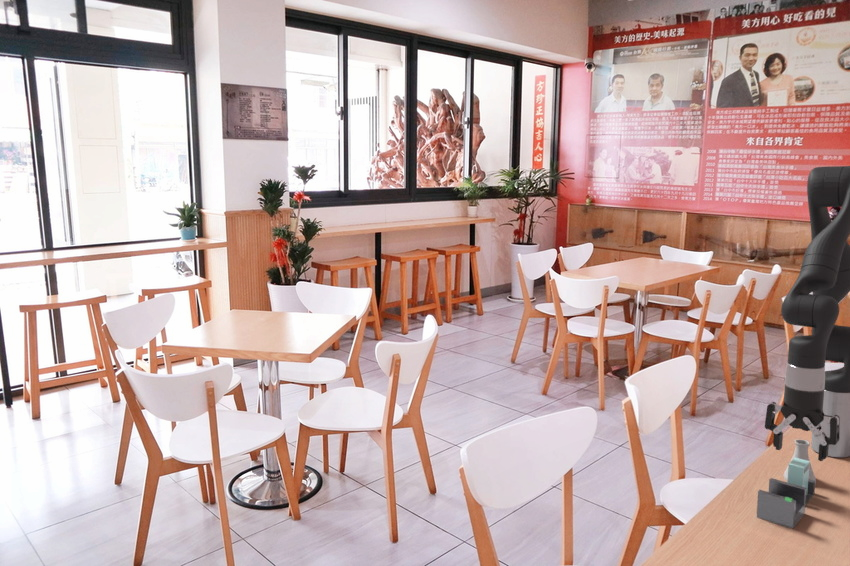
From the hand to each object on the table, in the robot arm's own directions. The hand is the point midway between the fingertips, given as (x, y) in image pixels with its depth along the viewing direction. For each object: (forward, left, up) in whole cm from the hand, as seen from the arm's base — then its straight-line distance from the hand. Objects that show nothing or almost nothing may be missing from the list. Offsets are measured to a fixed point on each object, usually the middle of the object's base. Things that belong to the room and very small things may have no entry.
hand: (799, 454), depth 146 cm
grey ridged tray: (0, 0, -11) cm, 11 cm away
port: (+11, 0, -11) cm, 15 cm away
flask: (-9, -2, -11) cm, 14 cm away
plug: (0, 0, -10) cm, 10 cm away
